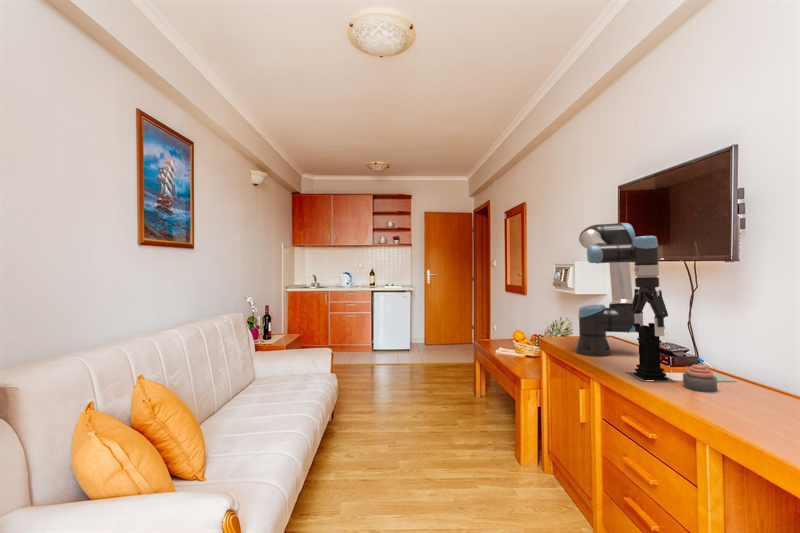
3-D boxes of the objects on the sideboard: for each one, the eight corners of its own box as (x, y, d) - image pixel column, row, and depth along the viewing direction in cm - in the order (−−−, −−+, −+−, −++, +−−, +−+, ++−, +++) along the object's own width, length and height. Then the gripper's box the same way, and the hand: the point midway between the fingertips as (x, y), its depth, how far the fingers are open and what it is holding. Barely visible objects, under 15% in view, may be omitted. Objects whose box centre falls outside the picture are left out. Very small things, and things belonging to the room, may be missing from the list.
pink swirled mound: (681, 372, 129) (680, 363, 129) (703, 372, 128) (703, 363, 128) (695, 378, 122) (694, 368, 122) (718, 378, 121) (718, 368, 121)
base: (677, 383, 130) (676, 372, 130) (704, 383, 129) (704, 372, 129) (694, 392, 121) (694, 380, 121) (724, 392, 120) (723, 380, 120)
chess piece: (655, 374, 141) (653, 322, 142) (668, 380, 133) (666, 326, 134) (633, 374, 142) (631, 323, 142) (645, 380, 134) (643, 326, 134)
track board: (626, 373, 144) (626, 371, 144) (714, 373, 141) (713, 372, 141) (642, 381, 133) (642, 380, 133) (738, 382, 129) (738, 381, 129)
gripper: (620, 276, 151) (622, 328, 150) (655, 277, 126) (657, 338, 126) (639, 276, 150) (641, 328, 150) (678, 276, 125) (681, 338, 125)
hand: (649, 333), depth 138 cm, fingers open, 13 cm apart
